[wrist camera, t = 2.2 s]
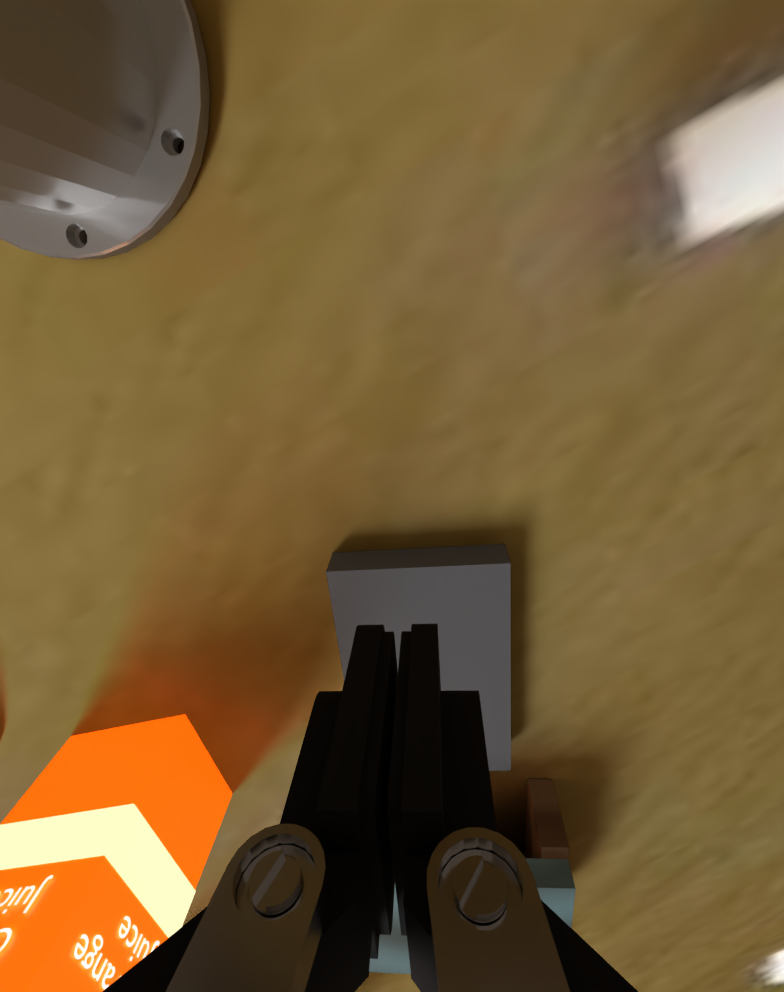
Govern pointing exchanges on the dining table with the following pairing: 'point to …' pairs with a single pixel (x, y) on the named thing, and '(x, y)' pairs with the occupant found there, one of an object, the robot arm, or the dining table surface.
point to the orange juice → (105, 855)
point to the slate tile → (438, 618)
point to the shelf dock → (544, 822)
